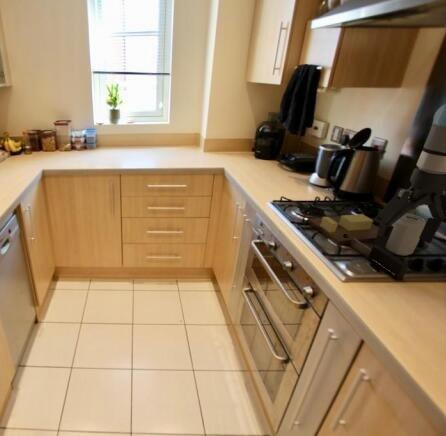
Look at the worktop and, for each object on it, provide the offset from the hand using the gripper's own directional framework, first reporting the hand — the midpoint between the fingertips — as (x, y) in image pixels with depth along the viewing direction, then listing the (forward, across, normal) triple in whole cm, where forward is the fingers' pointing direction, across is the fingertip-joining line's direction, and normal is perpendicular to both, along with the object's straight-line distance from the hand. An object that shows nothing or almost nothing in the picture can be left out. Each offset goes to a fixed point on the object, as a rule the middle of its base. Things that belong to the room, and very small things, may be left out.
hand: (402, 243), depth 87 cm
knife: (+10, +1, -6) cm, 12 cm away
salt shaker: (+10, -30, -25) cm, 40 cm away
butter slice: (+8, +3, -23) cm, 25 cm away
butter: (+8, -8, -23) cm, 26 cm away
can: (+10, -12, -10) cm, 18 cm away
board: (+10, -6, -23) cm, 26 cm away
